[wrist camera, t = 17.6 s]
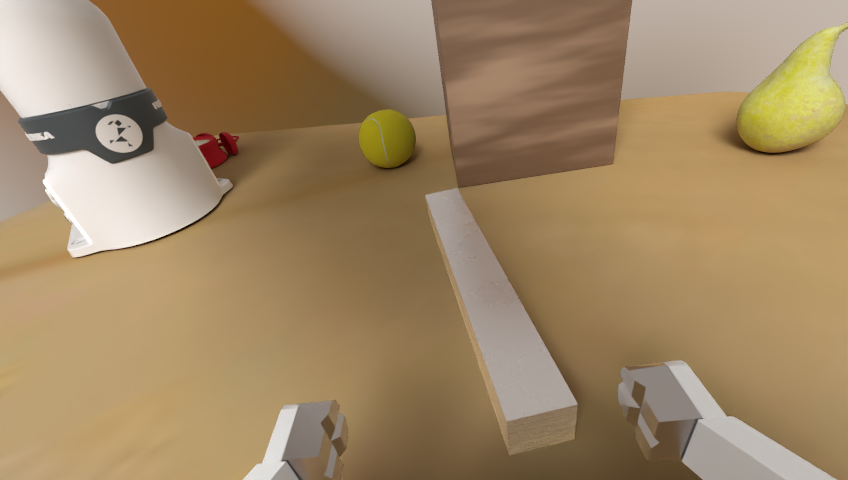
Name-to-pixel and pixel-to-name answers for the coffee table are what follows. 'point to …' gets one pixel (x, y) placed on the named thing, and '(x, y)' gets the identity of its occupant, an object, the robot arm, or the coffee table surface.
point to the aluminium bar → (501, 334)
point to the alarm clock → (216, 147)
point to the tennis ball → (387, 138)
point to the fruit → (795, 99)
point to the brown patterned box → (530, 84)
